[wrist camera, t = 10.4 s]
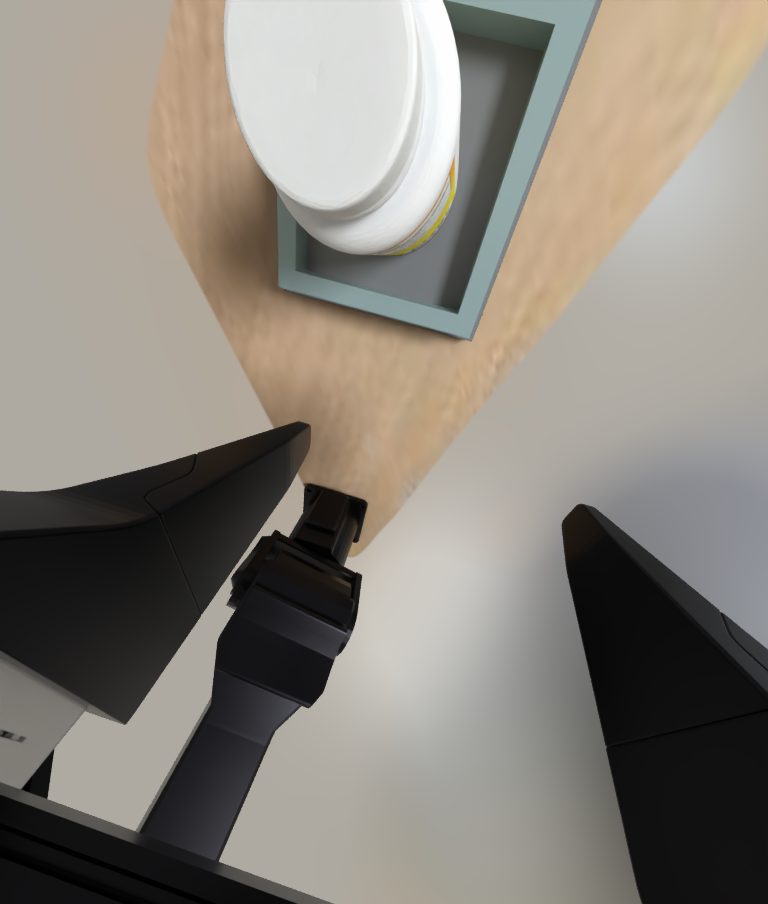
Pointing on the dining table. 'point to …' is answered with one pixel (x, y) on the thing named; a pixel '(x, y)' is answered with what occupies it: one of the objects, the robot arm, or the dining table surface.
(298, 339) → the dining table surface
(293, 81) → the supplement bottle
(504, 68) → the tray
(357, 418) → the dining table surface
